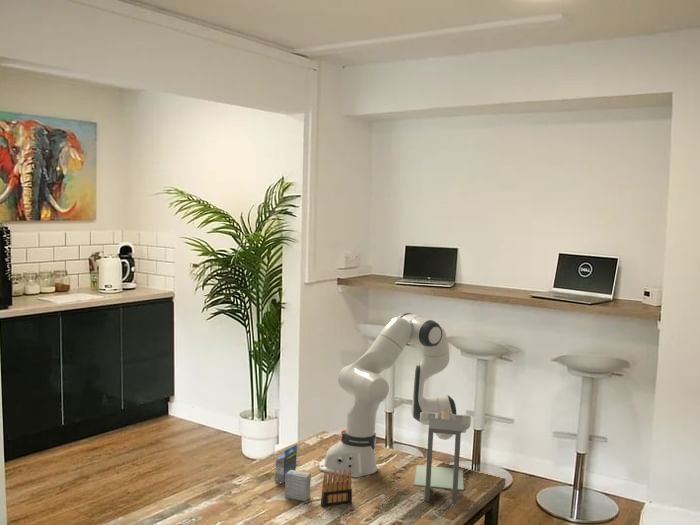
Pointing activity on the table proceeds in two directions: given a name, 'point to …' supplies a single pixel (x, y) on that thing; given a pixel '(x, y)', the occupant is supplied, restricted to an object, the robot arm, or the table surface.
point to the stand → (454, 429)
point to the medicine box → (297, 485)
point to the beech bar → (445, 414)
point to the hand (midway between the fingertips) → (445, 415)
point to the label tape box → (285, 464)
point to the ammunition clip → (336, 489)
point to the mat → (438, 477)
